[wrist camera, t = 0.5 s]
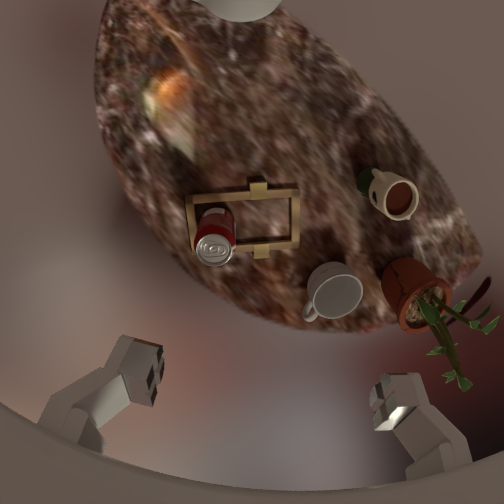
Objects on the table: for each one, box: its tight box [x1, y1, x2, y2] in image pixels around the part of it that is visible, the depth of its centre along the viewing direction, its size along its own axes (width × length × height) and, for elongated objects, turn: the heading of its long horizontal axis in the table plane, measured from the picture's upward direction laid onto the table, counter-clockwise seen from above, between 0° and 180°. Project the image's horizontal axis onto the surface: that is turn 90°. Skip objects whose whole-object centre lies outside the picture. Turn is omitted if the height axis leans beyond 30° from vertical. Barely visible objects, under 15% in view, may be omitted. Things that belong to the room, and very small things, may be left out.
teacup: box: [302, 262, 363, 322], centre depth 60 cm, size 14×11×8 cm
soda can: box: [194, 207, 236, 266], centre depth 51 cm, size 7×7×12 cm
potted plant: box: [381, 257, 499, 392], centre depth 47 cm, size 17×16×35 cm
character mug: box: [356, 167, 419, 221], centre depth 48 cm, size 11×7×13 cm, turn 44°
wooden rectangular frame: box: [185, 181, 300, 259], centre depth 56 cm, size 15×21×1 cm
